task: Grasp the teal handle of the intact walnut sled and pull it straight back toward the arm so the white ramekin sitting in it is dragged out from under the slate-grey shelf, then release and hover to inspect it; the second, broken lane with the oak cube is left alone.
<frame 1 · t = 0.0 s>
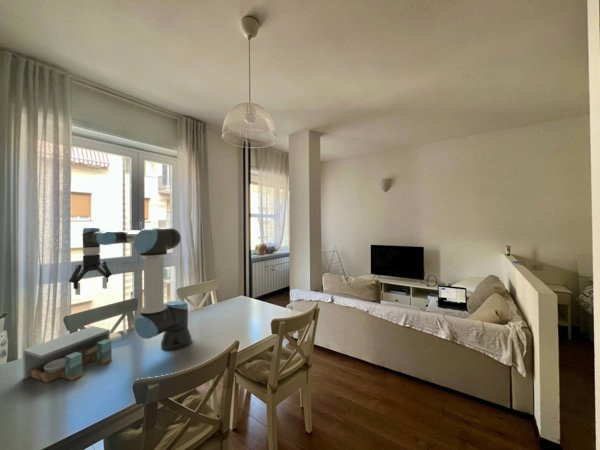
hand: (91, 291, 142), 28 cm above the table, fingers open, 13 cm apart
oak cube: (89, 357, 123), resting in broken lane
shelf: (71, 364, 117), on the table
sled: (62, 362, 110), point 5 cm above the table, slide at 0.0 cm
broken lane: (88, 357, 123), on the table
ramekin: (58, 372, 111), resting in sled
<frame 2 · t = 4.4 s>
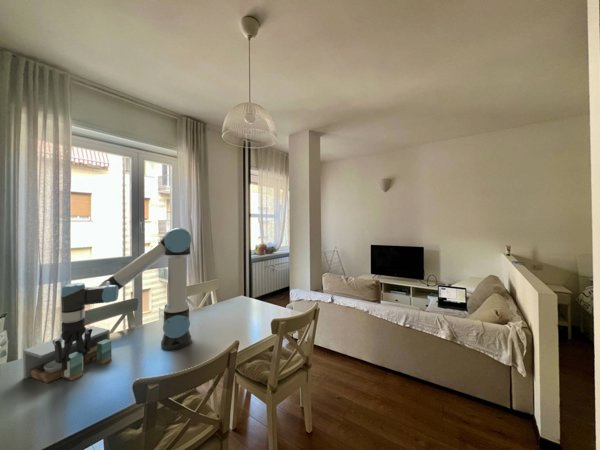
hand: (73, 373, 107), 2 cm above the table, fingers closed on sled, 4 cm apart
sled: (62, 362, 110), point 5 cm above the table, slide at 0.0 cm, touching gripper
everything else where it was.
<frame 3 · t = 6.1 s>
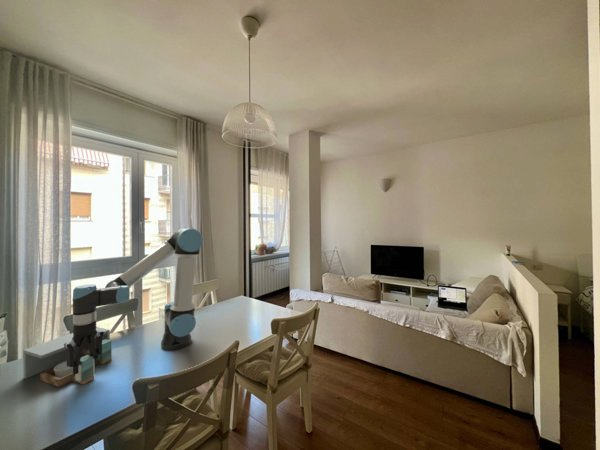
hand: (85, 376, 105), 2 cm above the table, fingers closed on sled, 4 cm apart
sled: (73, 365, 107), point 5 cm above the table, slide at 7.7 cm, touching gripper
ramekin: (67, 374, 110), resting in sled
everything else where it was.
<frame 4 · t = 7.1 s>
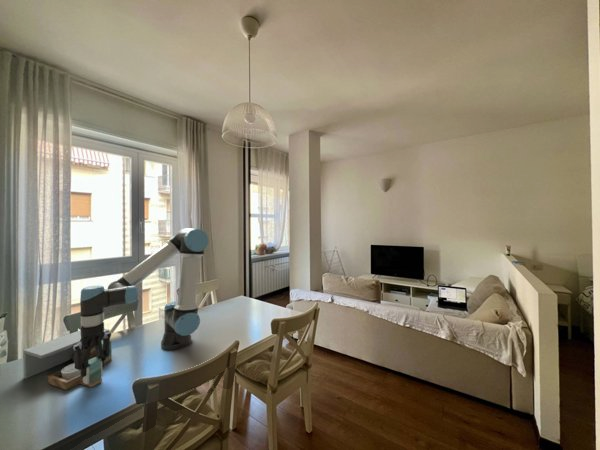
hand: (92, 379, 103), 2 cm above the table, fingers closed on sled, 4 cm apart
sled: (81, 368, 106), point 5 cm above the table, slide at 12.7 cm, touching gripper
ramekin: (75, 377, 108), resting in sled
everything else where it was.
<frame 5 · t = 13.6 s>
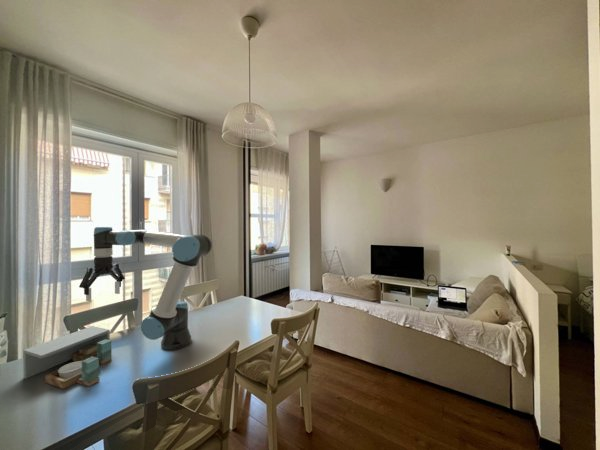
hand: (103, 297, 128), 29 cm above the table, fingers open, 13 cm apart
sled: (78, 367, 106), point 5 cm above the table, slide at 11.1 cm, touching ramekin
ramekin: (72, 376, 108), resting in sled
everything else where it was.
at the end: sled slide at 11.0 cm; ramekin inside the target area (3.8 cm from its centre), resting in sled; ramekin tilted 0° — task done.
